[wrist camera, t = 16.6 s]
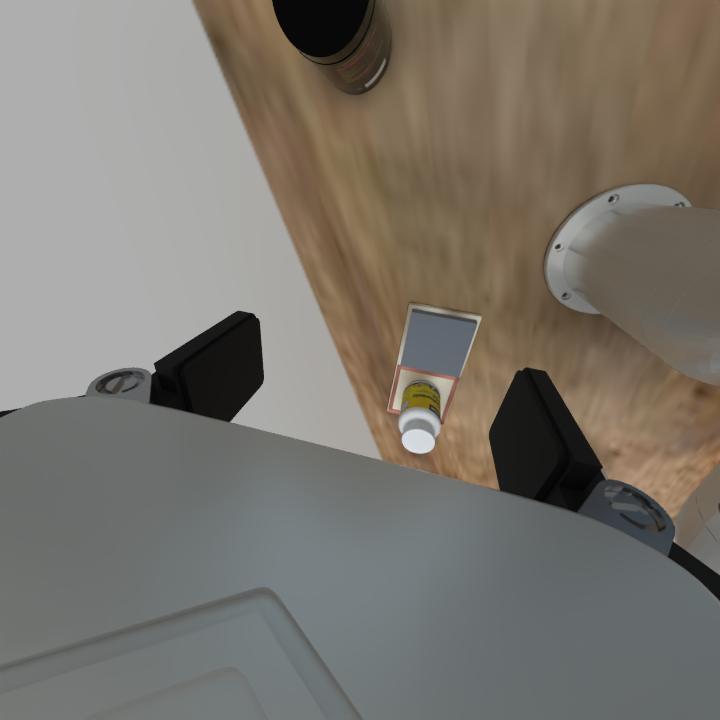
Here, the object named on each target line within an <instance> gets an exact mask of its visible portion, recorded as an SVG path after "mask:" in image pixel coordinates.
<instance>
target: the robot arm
mask: <svg viewBox="0 0 720 720" xmlns="http://www.w3.org/2000/svg"><path fill="white" fill-rule="evenodd" d="M610 196H612V200H611V201H609V202H608V199H609V198H610ZM674 205H675V206H674ZM557 244H559V247H558V248H557V249H555V246H556V245H557ZM544 275H545V281H546V283H547V286H548V288H549V290H550V291H551V293H552V294H553V295H554V297H555V298H556V299H557V300H558V301H559V302H561V303H562V304H564V305H565V306H567V307H568V308H570V309H573V310H575V311H578V312H582V313H588V314H603V315H604V316H605V317H606V318H608V319H609V320H610V321H612V322H613V323H614V324H616V325H617V326H618V327H619V328H621V329H622V330H623V331H625V332H626V333H627V334H629V335H630V336H631V337H632V338H634V339H635V340H636V341H638V342H639V343H640V344H642V345H643V346H644V347H645V348H647V349H648V350H649V351H651V352H652V353H653V354H655V355H656V356H657V357H658V358H660V359H662V360H663V361H664V362H666V363H667V364H668V365H670V366H671V367H672V368H674V369H675V370H677V371H679V372H680V373H682V374H684V375H686V376H688V377H690V378H692V379H695V380H697V381H700V382H704V383H707V384H711V385H714V386H719V387H720V210H719V209H707V208H695V207H693V206H692V205H691V203H690V201H689V200H688V199H686V198H685V197H684V196H683V195H682V194H681V193H679V192H678V191H676V190H674V189H672V188H670V187H666V186H661V185H657V184H634V185H626V186H622V187H618V188H614V189H611V190H609V191H606V192H604V193H601V194H599V195H597V196H595V197H594V198H592V199H590V200H589V201H587V202H585V203H584V204H582V205H581V206H580V207H579V208H578V209H576V210H575V211H574V212H573V213H571V214H570V215H569V217H568V218H567V219H566V220H565V221H564V222H563V223H562V224H561V225H560V227H559V228H558V230H557V231H556V233H555V234H554V236H553V238H552V240H551V242H550V244H549V246H548V248H547V252H546V256H545V259H544ZM564 293H565V295H564V296H562V295H563V294H564ZM154 366H155V369H156V372H155V373H153V374H152V375H151V373H150V372H149V371H147V370H145V369H142V368H123V369H118V370H114V371H111V372H108V373H105V374H103V375H101V376H99V377H98V378H96V379H95V380H94V381H93V382H91V384H90V385H89V387H88V389H87V392H86V395H83V396H78V397H70V398H61V399H54V400H48V401H42V402H38V403H35V404H32V405H29V406H26V407H24V408H19V409H14V410H8V411H1V412H0V720H720V462H719V463H718V464H717V465H716V466H715V467H714V468H713V470H712V471H711V472H710V473H709V474H708V475H707V476H706V477H705V478H704V479H703V480H702V482H701V483H700V485H699V486H698V487H697V488H696V489H695V490H694V491H693V493H692V494H691V495H690V496H689V498H688V499H687V500H686V502H685V503H684V504H683V506H682V507H681V509H680V511H679V513H678V516H677V518H676V522H675V526H674V524H673V521H672V519H671V517H670V516H669V515H668V514H667V512H666V511H665V510H664V509H663V508H662V507H661V506H660V505H659V504H658V503H657V502H656V501H655V500H654V499H652V498H651V497H650V496H648V495H647V494H645V493H644V492H643V491H641V490H639V489H637V488H635V487H633V486H632V485H629V484H627V483H624V482H621V481H617V480H612V479H608V480H606V478H605V477H604V475H603V473H602V472H601V469H602V468H603V467H602V465H601V463H600V462H599V460H598V458H597V457H596V455H595V453H594V452H593V450H592V448H591V447H590V445H589V443H588V441H587V440H586V438H585V436H584V435H583V433H582V431H581V430H580V428H579V426H578V425H577V423H576V421H575V420H574V418H573V416H572V415H571V413H570V411H569V409H568V408H567V406H566V404H565V403H564V401H563V399H562V398H561V396H560V394H559V393H558V391H557V389H556V388H555V386H554V384H553V383H552V381H551V379H550V378H549V376H548V374H547V373H546V372H545V371H542V370H537V369H532V368H527V367H526V368H524V370H523V371H520V370H519V371H517V373H516V374H515V376H514V379H513V381H512V383H511V385H510V387H509V389H508V391H507V394H506V396H505V398H504V400H503V402H502V404H501V406H500V409H499V411H498V413H497V415H496V417H495V419H494V422H493V424H492V426H491V428H490V431H489V440H490V445H491V450H492V454H493V459H494V464H495V469H496V473H497V478H498V483H499V488H500V490H496V489H492V488H488V487H484V486H481V485H477V484H473V483H469V482H465V481H461V480H457V479H453V478H449V477H445V476H442V475H438V474H434V473H430V472H426V471H422V470H418V469H414V468H410V467H406V466H402V465H398V464H394V463H390V462H386V461H382V460H378V459H374V458H370V457H366V456H362V455H358V454H354V453H350V452H346V451H342V450H338V449H334V448H330V447H326V446H322V445H318V444H315V443H311V442H307V441H302V440H298V439H294V438H291V437H287V436H282V435H279V434H275V433H271V432H266V431H263V430H259V429H255V428H251V427H247V426H242V425H239V424H235V423H230V421H231V420H232V419H233V418H234V417H235V415H236V414H237V413H238V412H239V411H240V410H241V408H242V407H243V406H244V405H245V404H246V403H247V402H248V401H249V399H250V398H251V397H252V396H253V395H254V394H255V392H256V391H257V390H258V389H259V388H260V387H261V385H262V384H263V380H264V370H263V358H262V346H261V332H260V321H259V319H258V318H256V316H255V315H254V314H252V313H247V312H243V311H237V312H235V313H233V314H232V315H230V316H228V317H227V318H225V319H224V320H222V321H221V322H219V323H217V324H216V325H214V326H213V327H211V328H210V329H208V330H206V331H205V332H203V333H201V334H200V335H198V336H197V337H195V338H194V339H192V340H190V341H189V342H187V343H185V344H184V345H182V346H181V347H179V348H178V349H176V350H174V351H173V352H171V353H170V354H168V355H166V356H165V357H163V358H162V359H160V360H158V361H157V362H155V363H154ZM674 538H675V542H673V539H674Z"/></svg>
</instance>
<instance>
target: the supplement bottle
mask: <svg viewBox="0 0 720 720" xmlns="http://www.w3.org/2000/svg"><path fill="white" fill-rule="evenodd" d="M440 428H441V403H440V393H439V391H438V389H437V388H436V387H435V386H434V385H433V384H431V383H429V382H426V381H415V382H412V383H410V384H409V385H408V386H407V387H406V388H405V390H404V393H403V398H402V404H401V410H400V416H399V429H400V431H401V433H402V443H403V445H404V447H405V448H406V449H408V450H409V451H411V452H414V453H426V452H429V451H431V450H432V449H433V447H434V445H435V438H436V437H437V435H438V434H439V432H440Z"/></svg>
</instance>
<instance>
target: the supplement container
mask: <svg viewBox="0 0 720 720" xmlns="http://www.w3.org/2000/svg"><path fill="white" fill-rule="evenodd" d="M272 2H273V7H274V11H275V14H276V17H277V20H278V22H279V24H280V27H281V29H282V30H283V32H284V34H285V35H286V37H287V38H288V40H289V41H290V42H291V43H292V44H293V45H294V46H295V47H296V48H297V50H298V51H299V52H300V53H301V54H302V55H303V56H304V57H305V58H307V59H308V60H309V61H310V62H311V63H312V64H313V65H314V66H315V67H316V68H317V69H318V70H319V71H321V72H322V73H323V74H324V75H325V76H326V77H327V78H328V79H329V80H330V81H331V82H332V83H333V84H334V85H335V86H336V87H337V88H338V89H340V90H341V91H343V92H346V93H350V94H357V93H362V92H364V91H366V90H368V89H370V88H371V87H372V86H373V85H374V84H375V83H376V82H377V81H378V80H379V79H380V77H381V76H382V74H383V72H384V70H385V68H386V65H387V63H388V59H389V55H390V49H391V30H390V24H389V20H388V17H387V13H386V10H385V6H384V3H383V0H272Z"/></svg>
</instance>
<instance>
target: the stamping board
mask: <svg viewBox="0 0 720 720" xmlns="http://www.w3.org/2000/svg"><path fill="white" fill-rule="evenodd" d="M412 309H418V310H423V311H429V312H434V313H440V314H445V315H451V316H456V317H462V318H467V319H473V320H477V327H476V330H475V333H474V336H473V338H472V341H471V344H470V347H469V350H468V353H467V356H466V359H465V362H464V364H463V367H462V370H461V373H460V376H459V378H457V377H452V376H448V375H443V374H438V373H433V372H428V371H424V370H419V369H414V368H409V367H404V366H400V364H401V359H402V355H403V350H404V345H405V341H406V336H407V331H408V327H409V322H410V317H411V313H412ZM481 318H482V316H481V315H479V314H474V313H468V312H463V311H457V310H452V309H446V308H440V307H435V306H429V305H424V304H418V303H412V302H410V303H409V308H408V313H407V317H406V322H405V327H404V332H403V337H402V342H401V346H400V351H399V356H398V361H397V366H396V371H395V376H394V380H393V385H392V390H391V395H390V400H389V405H388V410H387V411H388V412H392V413H396V414H400V410H401V404H402V398H403V393H404V390H405V388H406V387H407V386H408V385H409V384H410V383H412V382H415V381H426V382H429V383H431V384H433V385H434V386H435V387H436V388H437V389H438V391H439V393H440V403H441V424H445V421H446V418H447V415H448V412H449V409H450V406H451V404H452V401H453V398H454V395H455V392H456V389H457V387H458V384H459V381H460V378H461V375H462V372H463V369H464V367H465V364H466V361H467V358H468V355H469V352H470V349H471V347H472V344H473V341H474V338H475V335H476V332H477V329H478V327H479V324H480V321H481Z"/></svg>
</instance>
